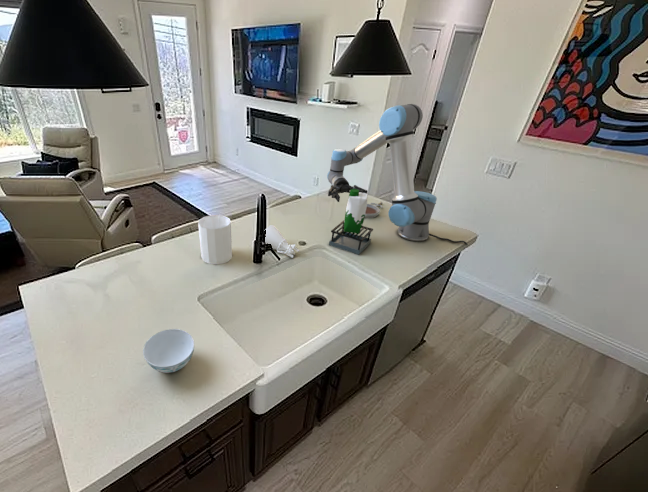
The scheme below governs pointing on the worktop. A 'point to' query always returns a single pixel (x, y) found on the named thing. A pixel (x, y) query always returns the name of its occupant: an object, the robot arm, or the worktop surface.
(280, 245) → the rocket engine
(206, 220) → the container
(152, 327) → the worktop surface
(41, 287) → the worktop surface
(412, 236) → the robot arm
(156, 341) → the chinaware
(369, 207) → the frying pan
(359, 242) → the dish rack
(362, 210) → the soya milk
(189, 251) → the worktop surface
